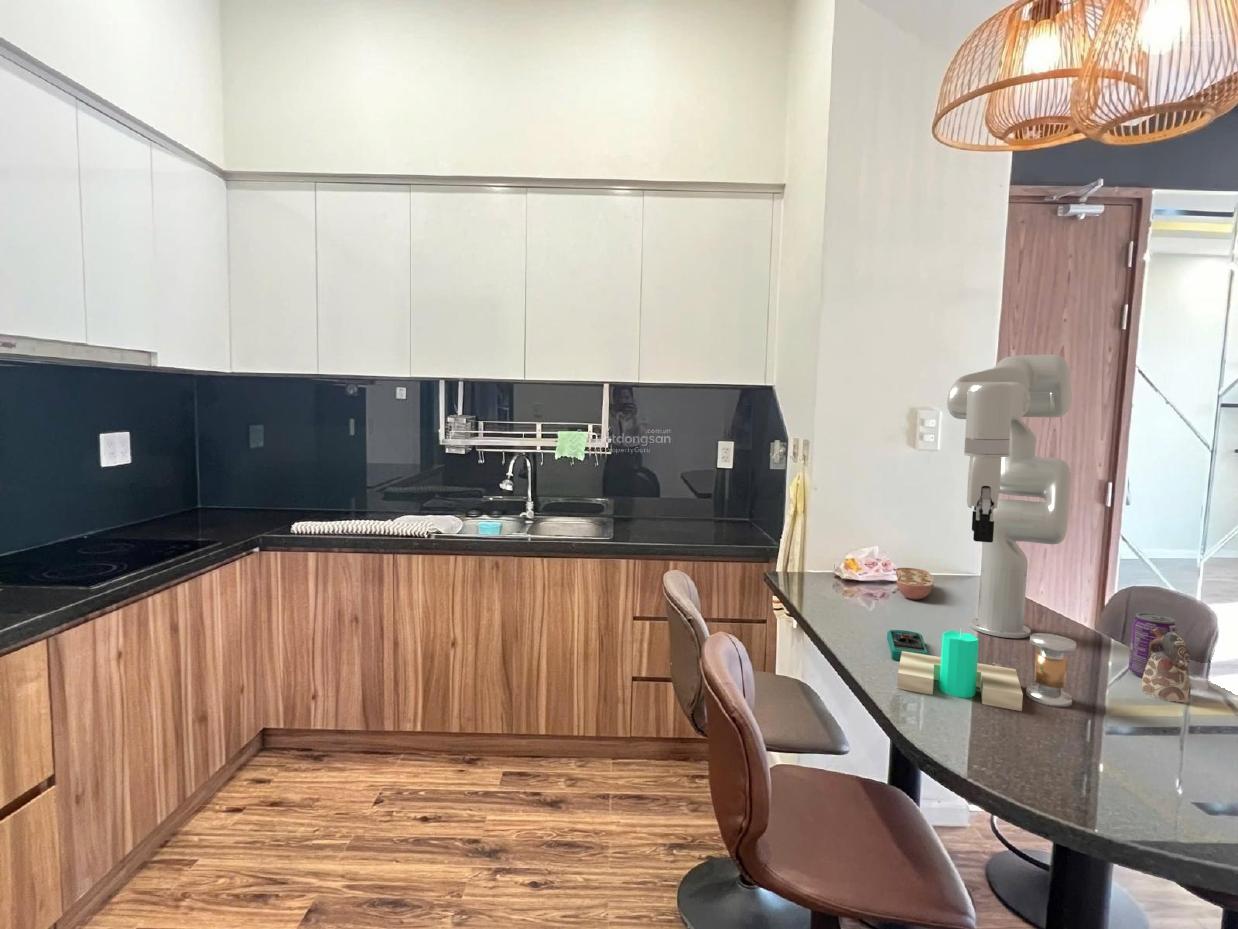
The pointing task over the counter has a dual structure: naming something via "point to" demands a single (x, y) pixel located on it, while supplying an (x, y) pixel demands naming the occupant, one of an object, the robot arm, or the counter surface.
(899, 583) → the pink elongated rounded piece
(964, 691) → the candle
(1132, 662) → the beverage can
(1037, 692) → the bobbin post
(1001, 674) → the notched board
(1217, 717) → the counter surface
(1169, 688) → the figurine
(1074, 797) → the counter surface
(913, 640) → the digital multimeter
